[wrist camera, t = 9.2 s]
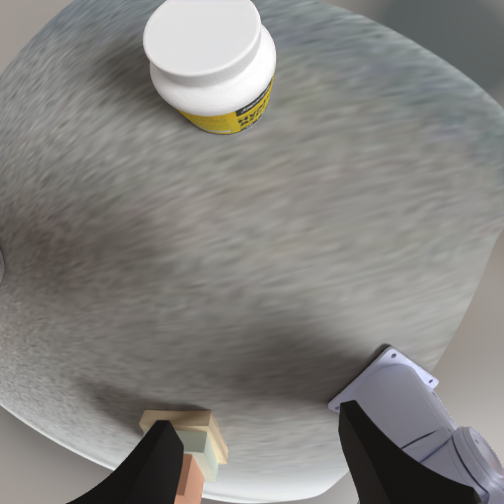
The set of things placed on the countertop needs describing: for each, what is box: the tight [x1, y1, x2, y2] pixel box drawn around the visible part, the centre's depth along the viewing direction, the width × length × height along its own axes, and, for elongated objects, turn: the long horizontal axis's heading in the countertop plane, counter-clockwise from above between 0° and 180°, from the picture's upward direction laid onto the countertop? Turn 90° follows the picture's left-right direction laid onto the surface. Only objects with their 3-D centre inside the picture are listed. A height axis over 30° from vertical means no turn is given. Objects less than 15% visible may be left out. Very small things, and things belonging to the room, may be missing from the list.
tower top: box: [142, 427, 219, 482], centre depth 21 cm, size 6×6×2 cm
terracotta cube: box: [174, 454, 204, 504], centre depth 18 cm, size 4×4×4 cm
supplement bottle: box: [143, 0, 276, 135], centre depth 11 cm, size 5×5×10 cm
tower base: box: [139, 410, 228, 464], centre depth 23 cm, size 7×7×2 cm
